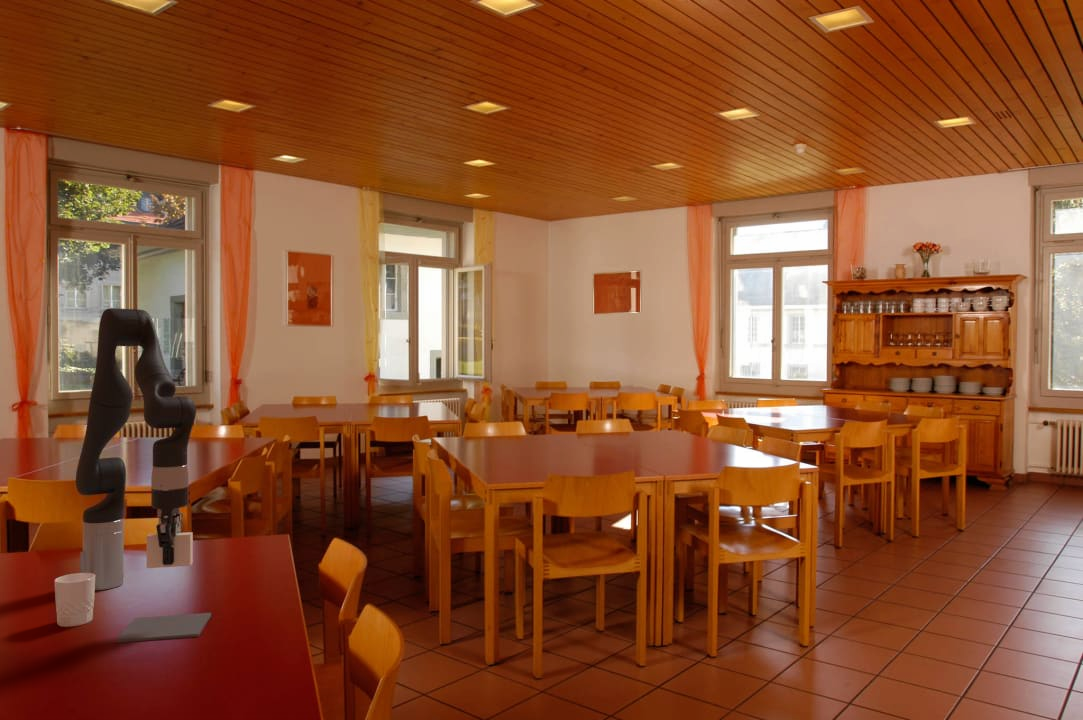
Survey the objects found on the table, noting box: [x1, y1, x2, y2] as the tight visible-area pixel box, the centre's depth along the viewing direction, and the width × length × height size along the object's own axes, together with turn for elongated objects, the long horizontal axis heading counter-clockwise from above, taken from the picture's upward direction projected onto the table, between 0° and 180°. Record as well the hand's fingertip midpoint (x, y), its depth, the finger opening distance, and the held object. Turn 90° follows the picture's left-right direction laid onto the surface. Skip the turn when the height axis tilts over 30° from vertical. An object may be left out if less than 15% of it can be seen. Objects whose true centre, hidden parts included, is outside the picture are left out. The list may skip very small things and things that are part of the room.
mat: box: [115, 612, 212, 644], centre depth 169 cm, size 16×14×1 cm
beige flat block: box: [146, 531, 194, 569], centre depth 172 cm, size 9×2×7 cm, turn 103°
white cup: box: [54, 572, 96, 628], centre depth 173 cm, size 8×8×10 cm
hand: (170, 562), depth 172 cm, fingers closed on beige flat block, 2 cm apart
